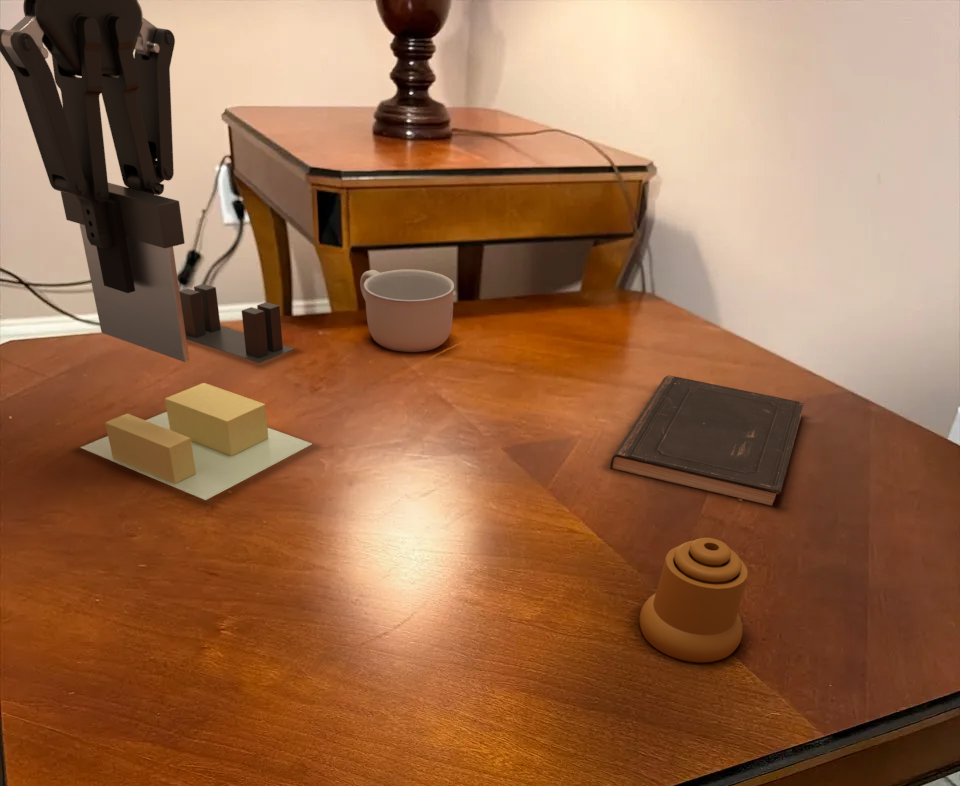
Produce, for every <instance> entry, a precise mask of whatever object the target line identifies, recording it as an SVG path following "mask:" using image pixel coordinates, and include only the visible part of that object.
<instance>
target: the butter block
mask: <svg viewBox="0 0 960 786" xmlns="http://www.w3.org/2000/svg"><path fill="white" fill-rule="evenodd" d="M164 403H165V408H166V409H165V410H166V412H167V415H168V420H169V426H170V430H171V431H174V432H177V433H179V434H182V435H184V436H187V437H189V438H191V441H193V442H196V443H199V444H201V445H204V446H206V447H209V448H211V449H214V450H217V451H219V452H222V453H224V454H227V455H230V456H233V455H235V454H237V453H239V452H241V451H243V450H245V449H247V448H249V447H251V446H253V445H256V444H258V443H260V442H262V441H264V440H266V439H268V428H269V427H268V419H267V418H268V417H267V409H266V408H267V407H266V404H265V403H263V402H261V401H257V400H255V399H252V398H248V397H246V396H243V395H240V394H237V393H234V392H231V391H229V390H226V389H223V388H220V387H217V386H214V385H213V384H208V383H206V382H202V383H199V384H197V385H195V386H192V387H190V388H187V389H185V390H182V391H180V392H177V393H174V394H172V395H169V396H167V397H165V398H164ZM267 427H268V428H267Z"/></svg>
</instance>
